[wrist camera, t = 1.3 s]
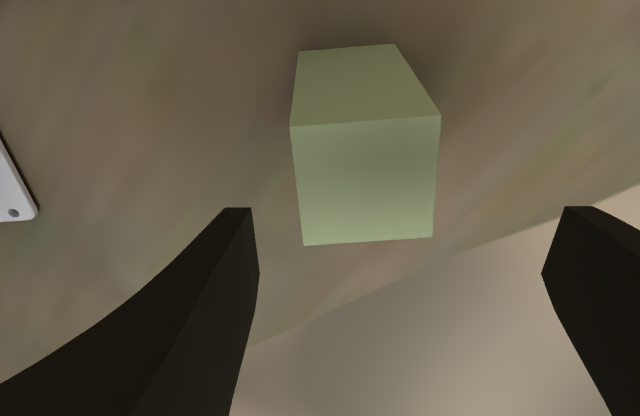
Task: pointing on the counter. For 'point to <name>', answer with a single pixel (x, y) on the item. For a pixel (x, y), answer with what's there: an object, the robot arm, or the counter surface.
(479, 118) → the counter surface
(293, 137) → the green rectangular block
